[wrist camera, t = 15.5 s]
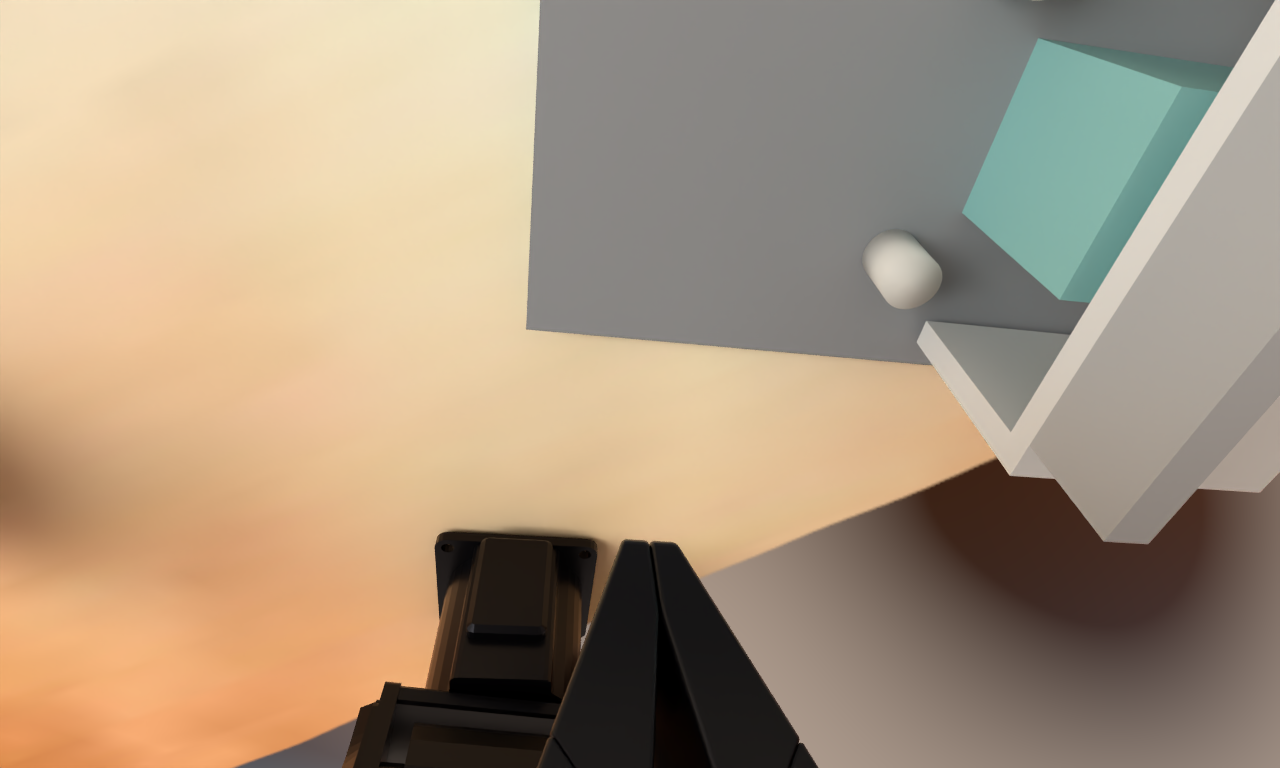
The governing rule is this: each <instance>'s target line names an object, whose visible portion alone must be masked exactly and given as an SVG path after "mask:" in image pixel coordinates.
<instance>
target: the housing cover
mask: <svg viewBox="0 0 1280 768" xmlns="http://www.w3.org/2000/svg"><path fill="white" fill-rule="evenodd" d="M917 344H918V345H919V347H920V348H921V349H922V351H923V352H924V354H925V355H926V357H927V358H928V359H929V361H930V362H931V364H932V365H933V367H934V368H935V369H936V371H937V372H938V374H939V375H940V377H941V378H942V379H943V381H944V382H945V384H946V385H947V386H948V388H949V389H950V391H951V392H952V394H953V395H954V396H955V398H956V399H957V401H958V402H959V404H960V405H961V406H962V408H963V409H964V411H965V412H966V414H967V415H968V416H969V418H970V419H971V421H972V422H973V424H974V425H975V426H976V428H977V429H978V431H979V432H980V434H981V435H982V436H983V438H984V439H985V441H986V442H987V444H988V445H989V446H990V448H991V449H992V451H993V452H994V454H995V455H996V456H997V458H998V459H999V461H1000V462H1001V463H1002V465H1003V466H1004V468H1005V469H1006V471H1007V472H1008V474H1009V475H1010V476H1023V477H1037V478H1052V479H1056V480H1057V482H1058V483H1059V484H1060V485H1061V487H1062V488H1063V489H1064V491H1065V492H1066V493H1067V494H1068V496H1069V497H1070V498H1071V500H1072V501H1073V502H1074V503H1075V505H1076V506H1077V507H1078V509H1079V510H1080V511H1081V512H1082V514H1083V515H1084V516H1085V518H1086V519H1087V520H1088V522H1089V523H1090V524H1091V525H1092V527H1093V528H1094V529H1095V531H1096V532H1097V533H1098V535H1099V536H1100V537H1101V538H1102V539H1103V541H1105V542H1122V543H1141V544H1149V542H1150V541H1151V540H1152V539H1153V538H1154V537H1155V536H1156V535H1157V534H1158V532H1159V531H1160V530H1161V529H1162V528H1163V527H1164V526H1165V525H1166V523H1167V522H1168V521H1169V520H1170V519H1171V518H1172V516H1173V515H1174V514H1175V513H1176V512H1177V511H1178V510H1179V509H1180V508H1181V506H1182V505H1183V504H1184V503H1185V502H1186V501H1187V500H1188V498H1189V497H1190V496H1191V495H1192V494H1193V493H1194V492H1195V491H1196V490H1197V488H1198V489H1213V490H1228V491H1242V492H1243V491H1244V492H1258V493H1260V492H1261V491H1262V490H1263V489H1264V488H1265V487H1266V486H1267V485H1268V484H1269V482H1271V481H1272V479H1273V478H1274V477H1275V476H1276V475H1277V474H1278V473H1279V472H1280V0H1275V1H1274V3H1273V4H1272V6H1271V8H1270V9H1269V11H1268V13H1267V14H1266V16H1265V17H1264V19H1263V21H1262V22H1261V24H1260V26H1259V27H1258V29H1257V31H1256V32H1255V34H1254V35H1253V37H1252V39H1251V40H1250V42H1249V44H1248V45H1247V47H1246V49H1245V50H1244V52H1243V53H1242V55H1241V57H1240V58H1239V60H1238V62H1237V63H1236V65H1235V67H1234V68H1233V70H1232V71H1231V73H1230V75H1229V76H1228V78H1227V80H1226V81H1225V83H1224V85H1223V86H1222V88H1221V89H1220V91H1219V93H1218V94H1217V96H1216V98H1215V99H1214V101H1213V103H1212V104H1211V106H1210V107H1209V109H1208V111H1207V112H1206V114H1205V116H1204V117H1203V119H1202V121H1201V122H1200V124H1199V125H1198V127H1197V129H1196V130H1195V132H1194V134H1193V135H1192V137H1191V139H1190V140H1189V142H1188V143H1187V145H1186V147H1185V148H1184V150H1183V152H1182V153H1181V155H1180V157H1179V158H1178V160H1177V161H1176V163H1175V165H1174V166H1173V168H1172V170H1171V171H1170V173H1169V175H1168V176H1167V178H1166V179H1165V181H1164V183H1163V184H1162V186H1161V188H1160V189H1159V191H1158V193H1157V194H1156V196H1155V197H1154V199H1153V201H1152V202H1151V204H1150V206H1149V207H1148V209H1147V211H1146V212H1145V214H1144V215H1143V217H1142V219H1141V220H1140V222H1139V224H1138V225H1137V227H1136V229H1135V230H1134V232H1133V233H1132V235H1131V237H1130V238H1129V240H1128V242H1127V243H1126V245H1125V246H1124V248H1123V250H1122V251H1121V253H1120V255H1119V256H1118V258H1117V260H1116V261H1115V263H1114V264H1113V266H1112V268H1111V269H1110V271H1109V273H1108V274H1107V276H1106V278H1105V279H1104V281H1103V282H1102V284H1101V286H1100V287H1099V289H1098V291H1097V292H1096V294H1095V296H1094V297H1093V299H1092V300H1091V302H1090V304H1089V305H1088V307H1087V309H1086V310H1085V312H1084V314H1083V315H1082V317H1081V318H1080V320H1079V322H1078V323H1077V325H1076V327H1075V328H1074V330H1073V332H1072V333H1071V335H1067V334H1057V333H1047V332H1037V331H1026V330H1016V329H1006V328H995V327H985V326H975V325H965V324H954V323H944V322H934V321H926V322H925V325H924V327H923V329H922V331H921V333H920V336H919V338H918V340H917Z"/></svg>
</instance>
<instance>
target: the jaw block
mask: <svg viewBox="0 0 1280 768" xmlns="http://www.w3.org/2000/svg"><path fill="white" fill-rule="evenodd" d="M1232 70H1233V67H1227V66H1220V65H1213V64H1207V63H1200V62H1194V61H1187V60H1180V59H1174V58H1167V57H1161V56H1154V55H1147V54H1141V53H1134V52H1128V51H1121V50H1114V49H1108V48H1101V47H1094V46H1088V45H1081V44H1075V43H1068V42H1061V41H1055V40H1048V39H1042V38H1038V40H1037V42H1036V45H1035V47H1034V49H1033V52H1032V54H1031V56H1030V58H1029V61H1028V63H1027V65H1026V68H1025V70H1024V72H1023V74H1022V77H1021V79H1020V81H1019V83H1018V86H1017V88H1016V90H1015V93H1014V95H1013V97H1012V99H1011V102H1010V104H1009V106H1008V109H1007V111H1006V113H1005V115H1004V118H1003V120H1002V122H1001V125H1000V127H999V129H998V131H997V134H996V136H995V138H994V141H993V143H992V145H991V147H990V150H989V152H988V154H987V157H986V159H985V161H984V163H983V166H982V168H981V170H980V173H979V175H978V177H977V179H976V182H975V184H974V186H973V189H972V191H971V193H970V195H969V198H968V200H967V202H966V204H965V207H964V209H963V211H962V213H963V214H964V215H965V216H966V217H967V218H968V219H969V220H971V221H972V222H973V223H974V224H975V225H976V226H977V227H978V228H980V229H981V230H982V231H983V232H984V233H985V234H986V235H987V236H989V237H990V238H991V239H992V240H993V241H994V242H995V243H996V244H997V245H999V246H1000V247H1001V248H1002V249H1003V250H1004V251H1005V252H1006V253H1008V254H1009V255H1010V256H1011V257H1012V258H1013V259H1014V260H1015V261H1017V262H1018V263H1019V264H1020V265H1021V266H1022V267H1023V268H1024V269H1025V270H1027V271H1028V272H1029V273H1030V274H1031V275H1032V276H1033V277H1034V278H1036V279H1037V280H1038V281H1039V282H1040V283H1041V284H1042V285H1043V286H1045V287H1046V288H1047V289H1048V290H1049V291H1050V292H1051V293H1052V294H1053V295H1055V296H1056V297H1057V298H1058V299H1059V300H1066V301H1076V302H1086V303H1090V302H1091V300H1092V299H1093V297H1094V296H1095V294H1096V292H1097V291H1098V289H1099V287H1100V286H1101V284H1102V282H1103V281H1104V279H1105V278H1106V276H1107V274H1108V273H1109V271H1110V269H1111V268H1112V266H1113V264H1114V263H1115V261H1116V260H1117V258H1118V256H1119V255H1120V253H1121V251H1122V250H1123V248H1124V246H1125V245H1126V243H1127V242H1128V240H1129V238H1130V237H1131V235H1132V233H1133V232H1134V230H1135V229H1136V227H1137V225H1138V224H1139V222H1140V220H1141V219H1142V217H1143V215H1144V214H1145V212H1146V211H1147V209H1148V207H1149V206H1150V204H1151V202H1152V201H1153V199H1154V197H1155V196H1156V194H1157V193H1158V191H1159V189H1160V188H1161V186H1162V184H1163V183H1164V181H1165V179H1166V178H1167V176H1168V175H1169V173H1170V171H1171V170H1172V168H1173V166H1174V165H1175V163H1176V161H1177V160H1178V158H1179V157H1180V155H1181V153H1182V152H1183V150H1184V148H1185V147H1186V145H1187V143H1188V142H1189V140H1190V139H1191V137H1192V135H1193V134H1194V132H1195V130H1196V129H1197V127H1198V125H1199V124H1200V122H1201V121H1202V119H1203V117H1204V116H1205V114H1206V112H1207V111H1208V109H1209V107H1210V106H1211V104H1212V103H1213V101H1214V99H1215V98H1216V96H1217V94H1218V93H1219V91H1220V89H1221V88H1222V86H1223V85H1224V83H1225V81H1226V80H1227V78H1228V76H1229V75H1230V73H1231V71H1232Z"/></svg>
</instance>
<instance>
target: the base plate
mask: <svg viewBox="0 0 1280 768" xmlns="http://www.w3.org/2000/svg"><path fill="white" fill-rule="evenodd" d="M1274 1H1275V0H540V20H539V44H538V67H537V90H536V114H535V137H534V161H533V184H532V207H531V231H530V254H529V278H528V301H527V325H526V329H529V330H540V331H551V332H562V333H574V334H585V335H596V336H607V337H619V338H630V339H641V340H652V341H664V342H675V343H686V344H698V345H709V346H720V347H731V348H743V349H754V350H765V351H776V352H788V353H799V354H810V355H821V356H833V357H844V358H855V359H866V360H878V361H889V362H900V363H912V364H923V365H932V364H931V362H930V361H929V359H928V358H927V357H926V355H925V354H924V352H923V351H922V349H921V348H920V347H919V345H918V344H917V340H918V338H919V336H920V333H921V331H922V329H923V327H924V325H925V322H926V321H934V322H944V323H954V324H965V325H975V326H985V327H995V328H1006V329H1016V330H1026V331H1037V332H1047V333H1057V334H1067V335H1071V333H1072V332H1073V330H1074V328H1075V327H1076V325H1077V323H1078V322H1079V320H1080V318H1081V317H1082V315H1083V314H1084V312H1085V310H1086V309H1087V307H1088V305H1089V304H1090V303H1086V302H1076V301H1066V300H1059V299H1058V298H1057V297H1056V296H1055V295H1053V294H1052V293H1051V292H1050V291H1049V290H1048V289H1047V288H1046V287H1045V286H1043V285H1042V284H1041V283H1040V282H1039V281H1038V280H1037V279H1036V278H1034V277H1033V276H1032V275H1031V274H1030V273H1029V272H1028V271H1027V270H1025V269H1024V268H1023V267H1022V266H1021V265H1020V264H1019V263H1018V262H1017V261H1015V260H1014V259H1013V258H1012V257H1011V256H1010V255H1009V254H1008V253H1006V252H1005V251H1004V250H1003V249H1002V248H1001V247H1000V246H999V245H997V244H996V243H995V242H994V241H993V240H992V239H991V238H990V237H989V236H987V235H986V234H985V233H984V232H983V231H982V230H981V229H980V228H978V227H977V226H976V225H975V224H974V223H973V222H972V221H971V220H969V219H968V218H967V217H966V216H965V215H964V214H963V213H962V211H963V209H964V207H965V204H966V202H967V200H968V198H969V195H970V193H971V191H972V189H973V186H974V184H975V182H976V179H977V177H978V175H979V173H980V170H981V168H982V166H983V163H984V161H985V159H986V157H987V154H988V152H989V150H990V147H991V145H992V143H993V141H994V138H995V136H996V134H997V131H998V129H999V127H1000V125H1001V122H1002V120H1003V118H1004V115H1005V113H1006V111H1007V109H1008V106H1009V104H1010V102H1011V99H1012V97H1013V95H1014V93H1015V90H1016V88H1017V86H1018V83H1019V81H1020V79H1021V77H1022V74H1023V72H1024V70H1025V68H1026V65H1027V63H1028V61H1029V58H1030V56H1031V54H1032V52H1033V49H1034V47H1035V45H1036V42H1037V40H1038V38H1042V39H1048V40H1055V41H1061V42H1068V43H1075V44H1081V45H1088V46H1094V47H1101V48H1108V49H1114V50H1121V51H1128V52H1134V53H1141V54H1147V55H1154V56H1161V57H1167V58H1174V59H1180V60H1187V61H1194V62H1200V63H1207V64H1213V65H1220V66H1227V67H1233V68H1234V67H1235V65H1236V63H1237V62H1238V60H1239V58H1240V57H1241V55H1242V53H1243V52H1244V50H1245V49H1246V47H1247V45H1248V44H1249V42H1250V40H1251V39H1252V37H1253V35H1254V34H1255V32H1256V31H1257V29H1258V27H1259V26H1260V24H1261V22H1262V21H1263V19H1264V17H1265V16H1266V14H1267V13H1268V11H1269V9H1270V8H1271V6H1272V4H1273V3H1274Z"/></svg>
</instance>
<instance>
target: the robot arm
mask: <svg viewBox="0 0 1280 768" xmlns="http://www.w3.org/2000/svg"><path fill="white" fill-rule="evenodd" d="M449 544H450V545H449ZM435 559H436V574H437V589H438V604H439V618H440V622H439V627H438V632H437V636H436V641H435V645H434V650H433V655H432V659H431V664H430V669H429V673H428V678H427V682H426V687H425V689H424V688H415V687H405V686H401V683H394V682H385V685H384V688H383V691H382V695H381V698H380V700H377V701H376V702H374V703H372V704H369V705H366V706H364V707H361V708H360V711H359V715H358V718H357V722H356V726H355V729H354V732H353V736H352V739H351V742H350V746H349V749H348V752H347V755H346V758H345V761H344V764H343V766H342V768H818V766H817V765H816V763H815V762H814V760H813V758H812V757H811V755H810V754H809V752H808V750H807V749H806V747H805V746H804V744H803V743H799V736H798V735H797V733H796V732H795V730H794V729H793V727H792V725H791V724H790V722H789V721H788V719H787V718H786V716H785V714H784V713H783V711H782V710H781V708H780V706H779V705H778V703H777V702H776V700H775V698H774V697H773V695H772V694H771V692H770V691H769V689H768V687H767V686H766V684H765V683H764V681H763V679H762V678H761V676H760V675H759V673H758V672H757V670H756V668H755V667H754V665H753V664H752V662H751V660H750V659H749V657H748V656H747V654H746V652H745V651H744V649H743V648H742V646H741V645H740V643H739V641H738V640H737V638H736V637H735V635H734V633H733V632H732V630H731V629H730V627H729V626H728V624H727V622H726V621H725V619H724V618H723V616H722V614H721V613H720V611H719V610H718V608H717V606H716V605H715V603H714V602H713V600H712V599H711V597H710V596H709V594H708V592H707V591H706V589H705V587H704V586H703V584H702V583H701V581H700V579H699V578H698V576H697V575H696V573H695V571H694V570H693V568H692V567H691V565H690V564H689V562H688V560H687V559H686V557H685V556H684V554H683V552H682V551H681V549H680V548H679V546H678V545H677V544H675V543H673V542H661V541H652V542H651V543H650V544H648V542H647V541H644V540H628V539H626V540H623V541H622V543H621V545H620V547H619V550H618V553H617V555H616V558H615V561H614V563H613V566H612V569H611V571H610V574H609V577H608V579H607V582H606V585H605V588H604V590H603V593H602V596H601V598H600V601H599V604H598V606H597V609H596V612H595V614H594V617H593V620H592V622H591V625H590V628H589V630H588V633H587V636H586V638H585V641H584V644H583V646H582V649H581V637H582V636H584V635H585V632H586V626H587V619H588V613H589V606H590V599H591V593H592V586H593V580H594V573H595V566H596V560H597V544H596V543H595V542H594V541H592V540H588V539H574V538H554V537H535V536H516V535H496V534H477V533H457V532H444V533H441V534H440V535H439V536H438V537H437V540H436V544H435ZM580 650H581V652H580ZM798 743H799V744H798Z"/></svg>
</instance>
